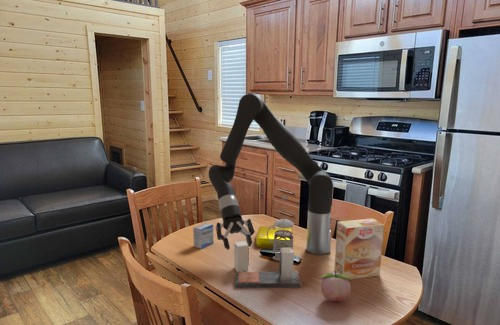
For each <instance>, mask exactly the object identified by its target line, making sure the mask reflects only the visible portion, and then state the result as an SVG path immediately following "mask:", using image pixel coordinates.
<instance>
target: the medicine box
mask: <svg viewBox="0 0 500 325" xmlns="http://www.w3.org/2000/svg"><path fill="white" fill-rule="evenodd" d="M214 243H215V242H214V224H213V223H210V222H205V223H202V224H199V225H197V226H195V227H193V247H194V248H198V249H200V250H201V249H204V248H206V247H208V246H210V245H212V244H214Z"/></svg>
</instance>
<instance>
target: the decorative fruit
mask: <svg viewBox="0 0 500 325" xmlns="http://www.w3.org/2000/svg"><path fill="white" fill-rule="evenodd" d="M319 279H321V280H320V292H321V294H322V295H323V296H324V297H325V298H326V299H328V300H329V301H331V302H340V301H342V300H345V298H347V297H348V296H349V294H350V292H351V291H352V290H351V289H352V288H351V283H350V281H352V279H350V278H349V277H348V276H347V275H345V274H340V273H336V271H335V272H334V271H333V272H328V273H325V274H323V275H322V276H320V277H319Z"/></svg>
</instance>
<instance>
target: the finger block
mask: <svg viewBox="0 0 500 325" xmlns="http://www.w3.org/2000/svg"><path fill="white" fill-rule="evenodd" d="M233 243H234V244H233V247H234V251H233V252H234V253H233V254H234V256H233V257H234V258H233V260H234V261H233V263H234V264H233V267H234V269H235V272H249V259H250V258H249V255H250V254H249V252H250V248H249V247H248V244H247V241H245V240H243V241H242V240H241V241H235V242H233Z"/></svg>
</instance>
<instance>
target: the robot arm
mask: <svg viewBox="0 0 500 325" xmlns="http://www.w3.org/2000/svg"><path fill="white" fill-rule="evenodd" d="M235 114H236V115H235V119H234V122H233V125H232V127H231V128H230V132H229V134H228V137H227V138H226V141H225V143H224V145H223V148H222V150H221V153H220V155H219V158H220V160H221V161H222V162H223V163H225V164H224V165H219V164H213V165H211V166H210V167H209V170H208V178H209V181H210V183H211V185H212V186H213V188H214V191H215V192H216V195H217V199H218V207H219V211H220V214H221V218H222V223H221V222H217V223H216V225H215V231H216V239H217V240H221V241H222V242H223V247H224V249H226V250H228V251H229V250H230V248H231V247H230V242H229V238H228V235H229V234H230V235H233V234H238V233H240V234H241V235H244V237H245V240H246V243H247V244H248V248H249V247H251V246H252V244H253V240H252V237H251V236H253V234H255V229H254V226H253V223H252V220H251V219H250V218H248V219H247V220H244V219H243V217H242V213H241V209H240V205H239V202H238V199H237V197H236V193H235V189H234V186H233V185H232V184H230V183H231V182H232V180H233V179H234V175H235V170H236V165H237V160H238V158H239V155H240V154H241V151H242V148H243V145H244V143H245V138H246V137H247V136H246V135H247V133H248V130H249V129H250V126H252V125H251V124H252V123H253V121H254V122H255V123H256V124H257V125H258V126H259V127H260V128H261V130H262V131H263V132H264V134H265V136H266V138H267V139H268V141H269V142H270V144H271V145H272V147H273V148H274V150H276V152H277V153H278V154H279V155H280V156H281V158H283V159H284V160H285V161H287V162H288V164H290V165H291V166H292V167H294V168H295V170H296V169H297V170H298V171H299V173H300V174H301V175H302V176H303V178H304V179H305V181H306V182H307V184H308V185H309V188H308V189H309V190H308V191H309V192H308V203H307V204H308V205H307V223H306V224H307V227H306V228H307V229H306V243H305V244H306V245H305V246H306V247H305V248H306V251H307V252H308V253H310V254H313V255H318V256H319V255H321V256H322V255H326V254H330V253H331V244H332V243H331V242H332V241H331V240H332V230H331V219H332V218H331V216H332V215H331V213H332V206H333V195H334V193H333V192H334V182H333V179H332V178H331V175H330V174H329V173H328V172H327V171H325V170H324V169H323V168H322V167H321V166H320V165H319V164H317V163H316V161H314V160H313V159H312V157H311V155H310V154H309V153H308V152H307V150H306V148H305V146H303V144H301V142H300V140H299V139H298V138H297V137H296V136H295V135H294V134H293V133H292V131H290V130H289V129H288V127H287V126H285V125H284V124H283V122H281V120H279V119H278V118H277V117H276V116H275V115H274V113H273V112H272V111H271V110H270V108H269V107H268V105H267V103H265V101H264V100H263V98H262V97H261V96H260V95H259V94H257V93H253V92H252V93H251V92H250V93H246V94H244V95H243V96H241V98H240V99H239V102H238V106H237V110H236V113H235ZM244 225H245V226H246V227H245V226H244ZM223 228H224V230H225V233H224V235H223V233H222V229H223Z"/></svg>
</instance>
